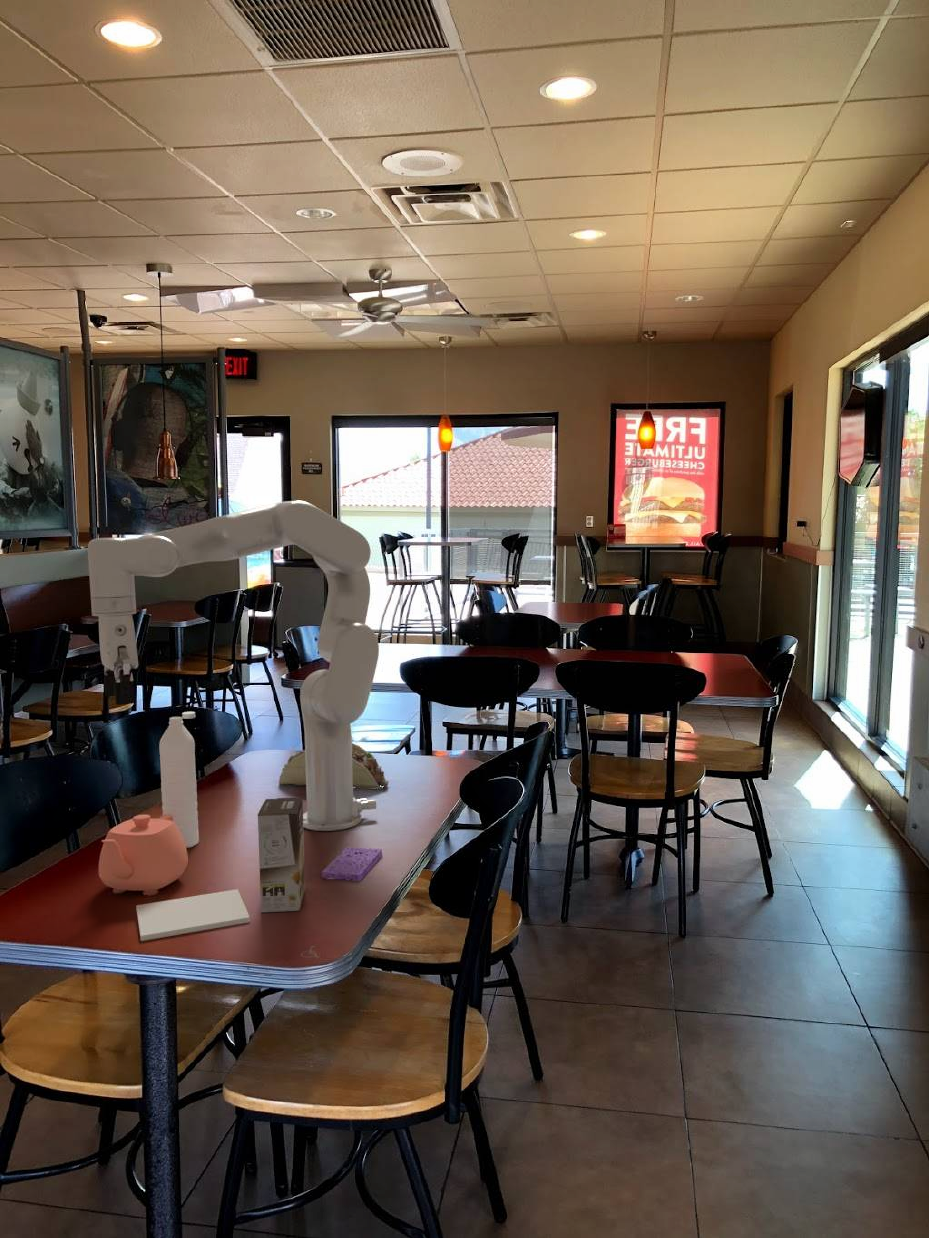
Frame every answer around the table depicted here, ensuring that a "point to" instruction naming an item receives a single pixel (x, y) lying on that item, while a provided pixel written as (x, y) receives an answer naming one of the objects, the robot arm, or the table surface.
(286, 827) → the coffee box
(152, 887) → the teapot
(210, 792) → the table surface
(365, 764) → the taco
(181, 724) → the water bottle
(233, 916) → the mat
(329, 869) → the sponges
